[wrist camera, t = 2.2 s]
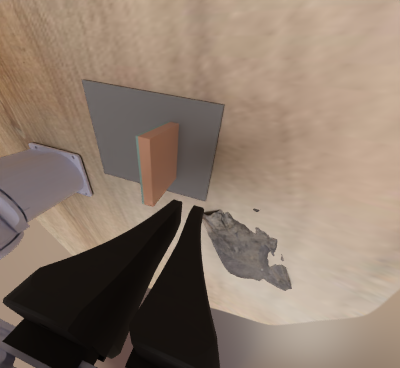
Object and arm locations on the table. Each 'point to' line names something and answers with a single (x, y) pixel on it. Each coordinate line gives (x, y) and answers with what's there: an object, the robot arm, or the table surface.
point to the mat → (148, 119)
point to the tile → (157, 160)
